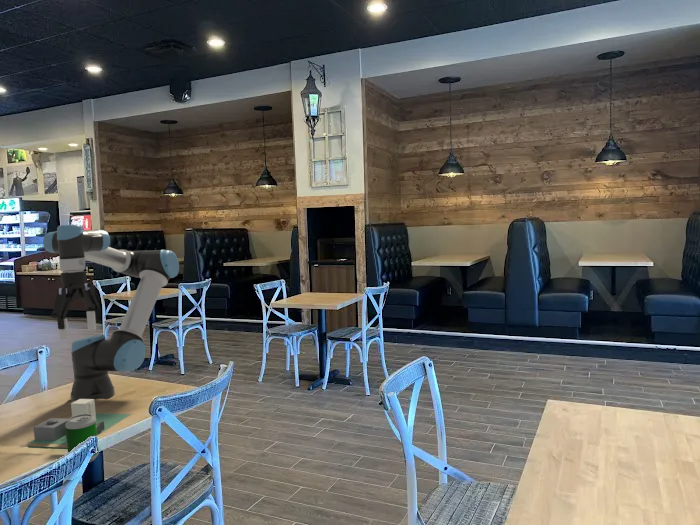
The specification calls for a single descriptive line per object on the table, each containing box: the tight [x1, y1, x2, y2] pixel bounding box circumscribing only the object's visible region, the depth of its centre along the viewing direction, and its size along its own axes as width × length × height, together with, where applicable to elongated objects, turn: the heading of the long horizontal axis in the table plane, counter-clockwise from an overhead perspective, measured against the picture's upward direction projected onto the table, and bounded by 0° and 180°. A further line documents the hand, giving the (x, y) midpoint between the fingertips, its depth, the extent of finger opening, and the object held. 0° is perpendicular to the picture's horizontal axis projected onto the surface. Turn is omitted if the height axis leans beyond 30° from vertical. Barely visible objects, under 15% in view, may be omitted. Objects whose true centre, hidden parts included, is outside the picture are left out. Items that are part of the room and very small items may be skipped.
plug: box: [70, 399, 97, 418], centre depth 160 cm, size 4×6×10 cm
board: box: [28, 412, 132, 450], centre depth 165 cm, size 24×18×6 cm
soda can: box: [65, 414, 100, 464], centre depth 145 cm, size 8×8×12 cm
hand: (78, 334), depth 176 cm, fingers open, 13 cm apart
